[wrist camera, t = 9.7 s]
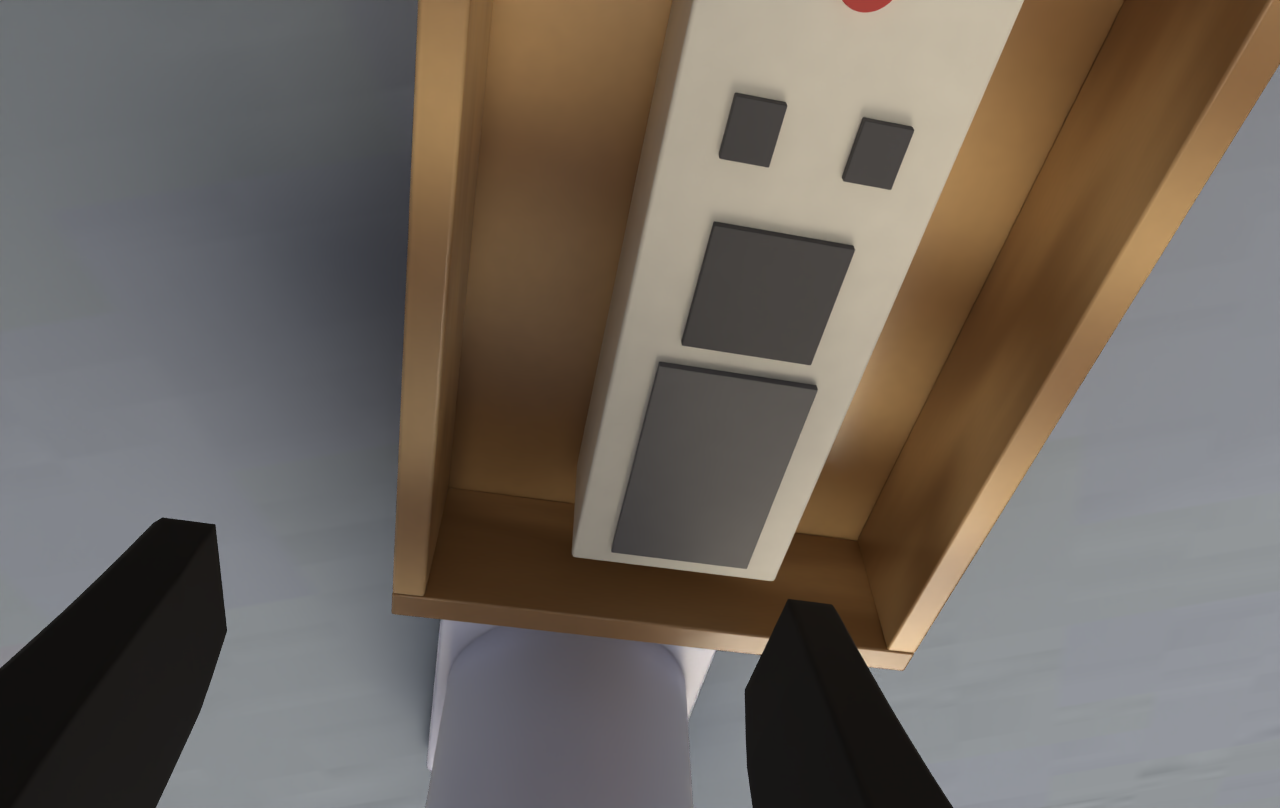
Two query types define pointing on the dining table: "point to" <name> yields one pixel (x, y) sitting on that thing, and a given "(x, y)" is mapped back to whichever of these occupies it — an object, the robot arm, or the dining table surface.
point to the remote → (766, 262)
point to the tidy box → (899, 365)
